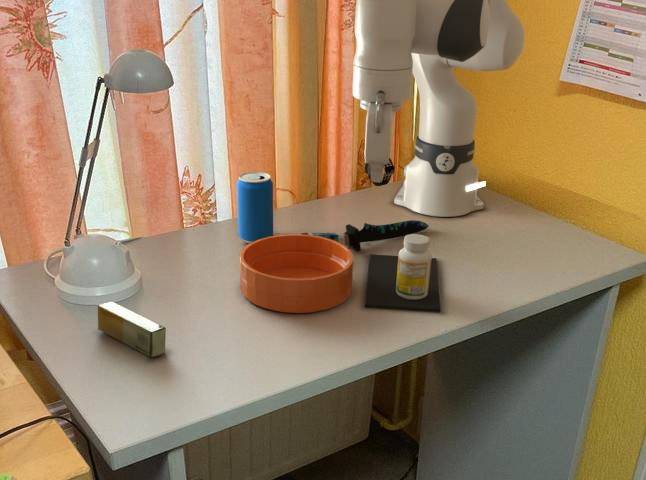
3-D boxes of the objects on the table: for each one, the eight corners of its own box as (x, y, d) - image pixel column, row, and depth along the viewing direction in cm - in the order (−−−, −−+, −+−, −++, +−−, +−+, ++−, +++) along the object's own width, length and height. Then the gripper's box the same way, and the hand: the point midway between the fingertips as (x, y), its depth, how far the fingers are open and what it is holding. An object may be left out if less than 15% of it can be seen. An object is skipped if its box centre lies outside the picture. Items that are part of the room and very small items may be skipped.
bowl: (251, 263, 139) (250, 231, 136) (354, 269, 139) (356, 237, 135) (231, 311, 124) (230, 276, 120) (348, 318, 123) (350, 283, 120)
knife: (300, 258, 138) (303, 234, 136) (292, 252, 140) (294, 228, 138) (434, 243, 155) (438, 222, 153) (424, 238, 157) (429, 216, 155)
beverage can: (279, 241, 148) (279, 179, 142) (248, 248, 145) (247, 184, 138) (262, 230, 152) (261, 168, 146) (232, 236, 149) (230, 174, 143)
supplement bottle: (415, 303, 127) (421, 248, 122) (388, 293, 130) (392, 238, 125) (434, 293, 131) (440, 238, 126) (407, 283, 133) (412, 229, 128)
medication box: (167, 353, 112) (167, 327, 110) (152, 359, 110) (152, 333, 108) (111, 324, 118) (111, 299, 116) (96, 329, 116) (95, 304, 114)
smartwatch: (386, 179, 129) (388, 149, 126) (394, 190, 125) (396, 159, 122) (361, 180, 128) (363, 149, 126) (369, 191, 124) (370, 160, 121)
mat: (369, 257, 143) (369, 254, 143) (436, 261, 143) (436, 258, 143) (364, 307, 126) (365, 304, 126) (440, 312, 126) (440, 309, 126)
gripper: (402, 103, 110) (395, 198, 117) (403, 70, 127) (398, 155, 134) (356, 101, 110) (353, 196, 117) (364, 68, 127) (360, 153, 135)
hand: (377, 174), depth 126 cm, fingers closed on smartwatch, 5 cm apart
